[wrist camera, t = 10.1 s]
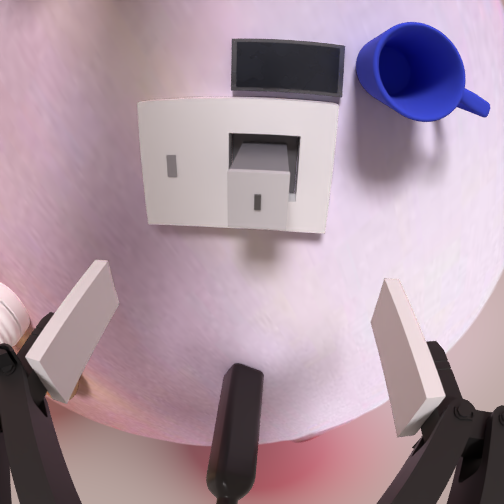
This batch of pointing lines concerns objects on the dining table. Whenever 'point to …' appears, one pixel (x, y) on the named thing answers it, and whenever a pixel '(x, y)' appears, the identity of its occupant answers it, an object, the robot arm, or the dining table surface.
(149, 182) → the cabinet panel
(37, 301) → the dining table surface
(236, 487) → the wine bottle
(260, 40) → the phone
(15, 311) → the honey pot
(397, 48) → the mug
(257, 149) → the plug
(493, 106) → the dining table surface
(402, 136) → the dining table surface
